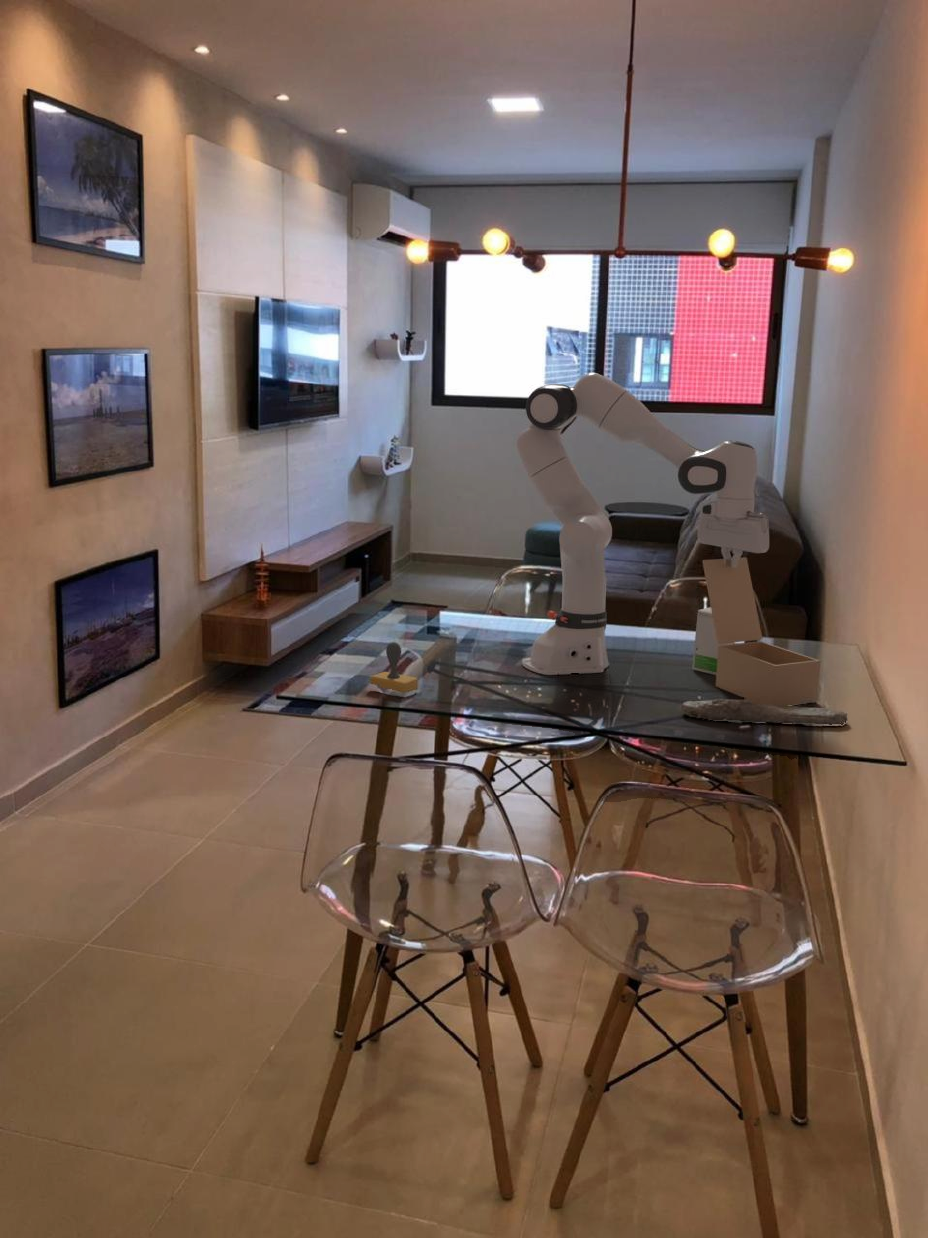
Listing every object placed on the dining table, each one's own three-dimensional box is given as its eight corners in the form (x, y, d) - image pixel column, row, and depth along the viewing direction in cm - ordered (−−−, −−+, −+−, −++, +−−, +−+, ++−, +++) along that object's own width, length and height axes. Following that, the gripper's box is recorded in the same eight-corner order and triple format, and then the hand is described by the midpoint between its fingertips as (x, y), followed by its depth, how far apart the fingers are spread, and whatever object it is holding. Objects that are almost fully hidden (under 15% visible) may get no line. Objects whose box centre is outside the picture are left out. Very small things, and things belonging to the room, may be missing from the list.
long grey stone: (851, 739, 225) (840, 726, 235) (854, 714, 224) (843, 703, 234) (682, 721, 228) (679, 710, 238) (685, 697, 228) (681, 687, 237)
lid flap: (703, 560, 257) (702, 560, 258) (719, 643, 254) (717, 644, 255) (746, 557, 263) (745, 557, 263) (762, 639, 260) (760, 639, 260)
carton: (771, 709, 239) (775, 665, 237) (715, 686, 257) (718, 645, 255) (816, 702, 245) (820, 660, 242) (758, 680, 262) (761, 641, 260)
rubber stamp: (369, 691, 248) (369, 641, 245) (384, 686, 252) (384, 636, 250) (403, 699, 242) (403, 647, 240) (418, 693, 247) (419, 643, 245)
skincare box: (691, 670, 271) (695, 610, 268) (705, 665, 276) (708, 606, 273) (720, 676, 266) (725, 615, 262) (734, 671, 271) (738, 611, 267)
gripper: (777, 513, 249) (773, 572, 252) (713, 504, 265) (709, 559, 268) (758, 514, 245) (754, 574, 248) (695, 505, 262) (691, 561, 265)
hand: (730, 566), depth 258 cm, fingers closed
